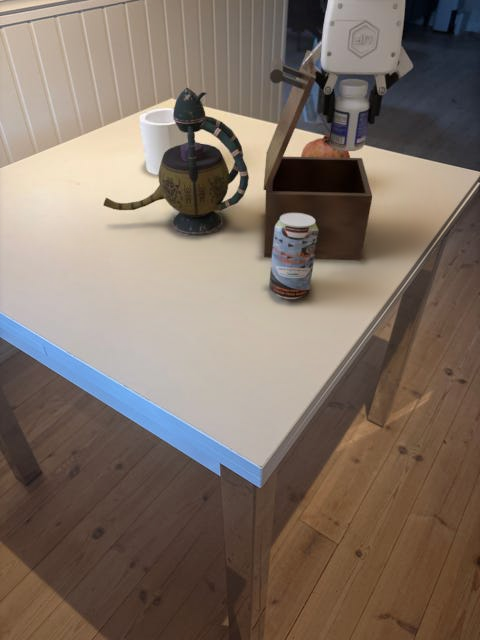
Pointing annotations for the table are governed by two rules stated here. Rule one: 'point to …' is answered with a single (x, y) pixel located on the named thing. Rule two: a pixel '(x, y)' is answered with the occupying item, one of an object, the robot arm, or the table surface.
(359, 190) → the chest
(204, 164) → the teapot
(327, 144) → the fruit
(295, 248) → the beverage can
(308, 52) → the lid
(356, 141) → the pill bottle
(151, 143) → the mug
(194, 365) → the table surface
